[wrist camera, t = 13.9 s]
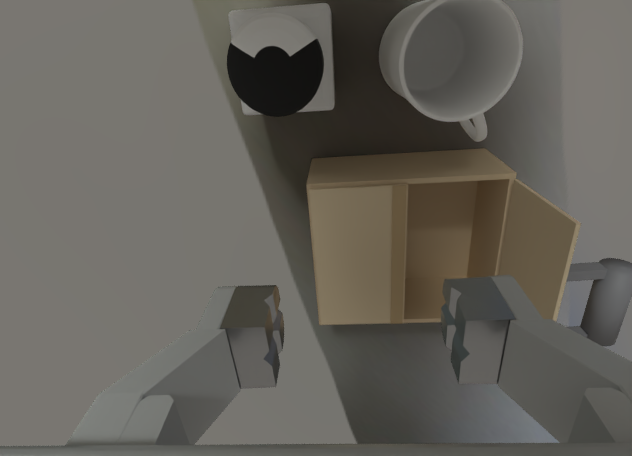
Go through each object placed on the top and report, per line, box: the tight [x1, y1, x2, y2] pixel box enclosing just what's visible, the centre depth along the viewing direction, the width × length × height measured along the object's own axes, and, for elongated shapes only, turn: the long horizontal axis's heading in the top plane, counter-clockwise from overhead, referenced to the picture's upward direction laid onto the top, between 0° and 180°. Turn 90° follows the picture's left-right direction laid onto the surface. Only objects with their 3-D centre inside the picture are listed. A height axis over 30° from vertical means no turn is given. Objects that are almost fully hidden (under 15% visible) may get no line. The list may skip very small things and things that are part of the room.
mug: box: [379, 0, 523, 142], centre depth 32 cm, size 12×8×12 cm
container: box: [227, 3, 335, 117], centre depth 31 cm, size 8×8×13 cm
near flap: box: [499, 179, 632, 346], centre depth 32 cm, size 15×9×6 cm
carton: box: [306, 148, 517, 325], centre depth 41 cm, size 16×18×8 cm
